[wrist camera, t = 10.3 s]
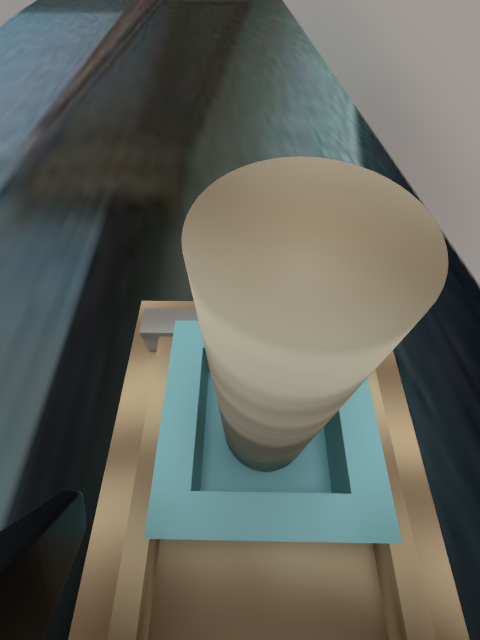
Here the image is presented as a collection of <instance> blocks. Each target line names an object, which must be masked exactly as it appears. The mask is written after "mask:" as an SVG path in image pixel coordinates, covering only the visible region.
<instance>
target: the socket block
mask: <svg viewBox="0 0 480 640" xmlns="http://www.w3.org/2000/svg"><path fill="white" fill-rule="evenodd" d="M144 539H180V540H233V541H285V542H337V543H389V544H402V539H401V535H400V530H399V525H398V520H397V515H396V511H395V506H394V501H393V496H392V491H391V487H390V482H389V477H388V472H387V467H386V463H385V458H384V453H383V448H382V443H381V439H380V434H379V429H378V424H377V419H376V414H375V410H374V405H373V400H372V395H371V390H370V386H369V381H368V378H367V379H366V380H365V381H364V383H363V384H362V385H361V386H360V387H359V388H358V389H357V390H356V391H355V393H354V394H353V395H352V396H351V397H350V398H349V399H348V400H347V401H346V403H345V404H344V405H343V406H342V407H341V408H340V409H339V410H338V411H337V413H336V414H335V415H334V416H333V417H332V418H331V419H330V420H329V422H328V423H327V424H326V425H325V426H324V427H323V428H322V429H321V430H320V432H319V433H318V434H317V435H316V436H315V437H314V438H313V439H312V440H311V442H310V443H309V444H308V445H307V446H306V447H305V448H304V449H303V450H302V452H301V453H300V454H299V455H298V456H297V457H296V458H295V459H294V460H293V461H292V462H291V463H290V464H289V465H287V466H286V467H284V468H282V469H280V470H277V471H273V472H260V471H255V470H252V469H250V468H248V467H246V466H244V465H243V464H241V463H240V462H239V461H238V460H237V459H236V458H235V457H234V455H233V454H232V452H231V451H230V449H229V447H228V444H227V441H226V437H225V433H224V428H223V424H222V420H221V416H220V411H219V407H218V403H217V398H216V394H215V390H214V385H213V381H212V377H211V373H210V368H209V364H208V360H207V355H206V351H205V347H204V342H203V338H202V334H201V329H200V325H199V321H175V326H174V333H173V340H172V347H171V354H170V361H169V368H168V375H167V382H166V388H165V395H164V402H163V409H162V416H161V423H160V430H159V437H158V444H157V451H156V458H155V465H154V472H153V479H152V486H151V493H150V500H149V507H148V514H147V521H146V527H145V534H144Z"/></svg>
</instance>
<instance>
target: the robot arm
mask: <svg viewBox="0 0 480 640" xmlns="http://www.w3.org/2000/svg"><path fill="white" fill-rule="evenodd" d="M85 529H86V516H85V508H84V500H83V495H82V493H81V492H80V491H61V492H59V493H58V494H56V495H55V496H53V497H52V498H50V499H49V500H47V501H46V502H44V503H42V504H41V505H39V506H38V507H36V508H35V509H33V510H32V511H30V512H29V513H27V514H26V515H24V516H23V517H21V518H20V519H18V520H17V521H15V522H14V523H12V524H11V525H9V526H7V527H6V528H4V529H3V530H1V531H0V640H41V639H42V637H43V635H44V633H45V631H46V628H47V626H48V624H49V622H50V620H51V617H52V615H53V613H54V610H55V608H56V605H57V603H58V600H59V598H60V595H61V593H62V590H63V587H64V585H65V582H66V580H67V577H68V575H69V572H70V569H71V567H72V564H73V562H74V559H75V557H76V554H77V551H78V549H79V546H80V544H81V541H82V538H83V536H84V533H85Z"/></svg>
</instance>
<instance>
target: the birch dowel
mask: <svg viewBox="0 0 480 640" xmlns="http://www.w3.org/2000/svg"><path fill="white" fill-rule="evenodd" d="M182 252H183V256H184V261H185V265H186V269H187V274H188V278H189V282H190V286H191V291H192V295H193V299H194V304H195V308H196V312H197V317H198V321H199V325H200V329H201V334H202V338H203V342H204V347H205V351H206V355H207V360H208V364H209V368H210V373H211V377H212V381H213V385H214V390H215V394H216V398H217V403H218V407H219V411H220V416H221V420H222V424H223V428H224V433H225V437H226V441H227V444H228V447H229V449H230V451H231V452H232V454H233V455H234V457H235V458H236V459H237V460H238V461H239V462H240V463H241V464H243V465H244V466H246V467H248V468H250V469H252V470H255V471H260V472H273V471H277V470H280V469H282V468H284V467H286V466H287V465H289V464H290V463H291V462H292V461H293V460H294V459H295V458H296V457H297V456H298V455H299V454H300V453H301V452H302V450H303V449H304V448H305V447H306V446H307V445H308V444H309V443H310V442H311V440H312V439H313V438H314V437H315V436H316V435H317V434H318V433H319V432H320V430H321V429H322V428H323V427H324V426H325V425H326V424H327V423H328V422H329V420H330V419H331V418H332V417H333V416H334V415H335V414H336V413H337V411H338V410H339V409H340V408H341V407H342V406H343V405H344V404H345V403H346V401H347V400H348V399H349V398H350V397H351V396H352V395H353V394H354V393H355V391H356V390H357V389H358V388H359V387H360V386H361V385H362V384H363V383H364V381H365V380H366V379H367V378H368V377H369V376H370V375H371V374H372V373H373V371H374V370H375V369H376V368H377V367H378V366H379V365H380V364H381V363H382V361H383V360H384V359H385V358H386V357H387V356H388V355H389V354H390V353H391V351H392V350H393V349H394V348H395V347H396V346H397V345H398V344H399V342H400V341H401V340H402V339H403V338H404V337H405V336H406V335H407V334H408V332H409V331H410V330H411V329H412V328H413V327H414V326H415V325H416V324H417V322H418V321H419V320H420V319H421V318H422V317H423V316H424V315H425V314H426V312H427V311H428V310H429V309H430V308H431V306H432V305H433V304H434V303H435V302H436V300H437V298H438V297H439V295H440V293H441V291H442V289H443V287H444V283H445V280H446V277H447V270H448V254H447V247H446V244H445V240H444V237H443V235H442V233H441V230H440V228H439V226H438V224H437V223H436V221H435V220H434V218H433V217H432V215H431V214H430V213H429V211H428V210H427V209H426V208H425V207H424V206H423V204H422V203H421V202H420V201H418V200H417V199H416V198H415V197H414V196H413V195H412V194H411V193H409V192H408V191H407V190H405V189H404V188H403V187H401V186H400V185H398V184H396V183H395V182H393V181H391V180H390V179H388V178H386V177H384V176H382V175H380V174H378V173H376V172H374V171H371V170H368V169H366V168H363V167H360V166H357V165H354V164H350V163H347V162H342V161H338V160H333V159H326V158H317V157H284V158H275V159H269V160H264V161H260V162H256V163H252V164H249V165H246V166H243V167H241V168H238V169H236V170H234V171H232V172H230V173H228V174H226V175H224V176H223V177H221V178H219V179H218V180H216V181H215V182H214V183H212V184H211V185H210V186H209V187H207V188H206V189H205V190H204V191H203V192H202V193H201V194H200V195H199V197H198V198H197V199H196V201H195V202H194V203H193V205H192V207H191V209H190V210H189V212H188V214H187V217H186V220H185V223H184V226H183V232H182Z"/></svg>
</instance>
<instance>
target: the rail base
mask: <svg viewBox="0 0 480 640" xmlns="http://www.w3.org/2000/svg"><path fill="white" fill-rule="evenodd" d="M175 321H198V317H197V312H196V308H195V304H194V301H142V302H141V307H140V312H139V316H138V321H137V325H136V330H135V335H134V339H133V344H132V348H131V353H130V358H129V362H128V367H127V371H126V376H125V381H124V385H123V390H122V394H121V399H120V404H119V408H118V413H117V417H116V422H115V427H114V431H113V436H112V440H111V445H110V450H109V454H108V459H107V463H106V468H105V473H104V477H103V482H102V486H101V491H100V496H99V500H98V505H97V509H96V514H95V519H94V523H93V528H92V532H91V537H90V542H89V546H88V551H87V555H86V560H85V565H84V569H83V574H82V578H81V583H80V588H79V592H78V597H77V601H76V606H75V611H74V615H73V620H72V624H71V629H70V634H69V638H68V640H470V639H469V635H468V632H467V628H466V624H465V620H464V617H463V613H462V609H461V605H460V601H459V598H458V594H457V590H456V586H455V583H454V579H453V575H452V571H451V567H450V564H449V560H448V556H447V552H446V549H445V545H444V541H443V537H442V533H441V530H440V526H439V522H438V518H437V515H436V511H435V507H434V503H433V500H432V496H431V492H430V488H429V484H428V481H427V477H426V473H425V469H424V466H423V462H422V458H421V454H420V450H419V447H418V443H417V439H416V435H415V432H414V428H413V424H412V420H411V416H410V413H409V409H408V405H407V401H406V398H405V394H404V390H403V386H402V382H401V379H400V375H399V371H398V367H397V364H396V360H395V356H394V352H393V350H392V351H391V353H390V354H389V355H388V356H387V357H386V358H385V359H384V360H383V361H382V363H381V364H380V365H379V366H378V367H377V368H376V369H375V370H374V371H373V373H372V374H371V375H370V376H369V377H368V381H369V386H370V390H371V395H372V400H373V405H374V410H375V414H376V419H377V424H378V429H379V434H380V439H381V443H382V448H383V453H384V458H385V463H386V467H387V472H388V477H389V482H390V487H391V491H392V496H393V501H394V506H395V511H396V515H397V520H398V525H399V530H400V535H401V539H402V544H389V543H337V542H285V541H233V540H180V539H144V534H145V527H146V521H147V514H148V507H149V500H150V493H151V486H152V479H153V472H154V465H155V458H156V451H157V444H158V437H159V430H160V423H161V416H162V409H163V402H164V395H165V388H166V382H167V375H168V368H169V361H170V354H171V347H172V340H173V333H174V326H175Z"/></svg>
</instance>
